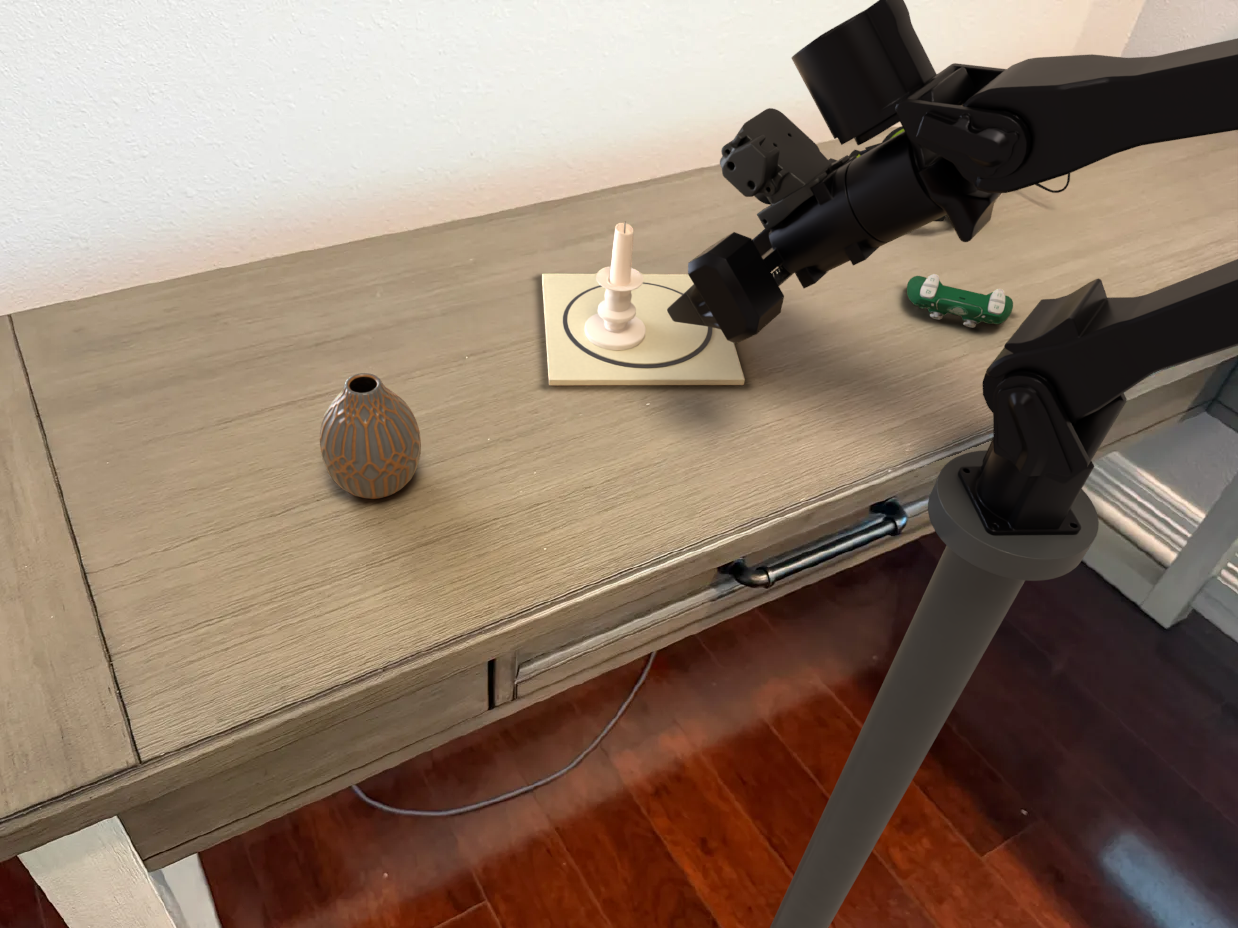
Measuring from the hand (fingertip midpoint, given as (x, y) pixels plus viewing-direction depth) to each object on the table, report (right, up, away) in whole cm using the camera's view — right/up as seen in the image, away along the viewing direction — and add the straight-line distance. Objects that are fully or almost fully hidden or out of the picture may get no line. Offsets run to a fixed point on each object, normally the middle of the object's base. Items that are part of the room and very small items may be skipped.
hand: (703, 289), depth 75 cm
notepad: (-4, -1, +10) cm, 11 cm away
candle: (-6, -2, +9) cm, 11 cm away
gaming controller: (+25, 0, +14) cm, 28 cm away
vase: (-24, -15, -4) cm, 29 cm away
